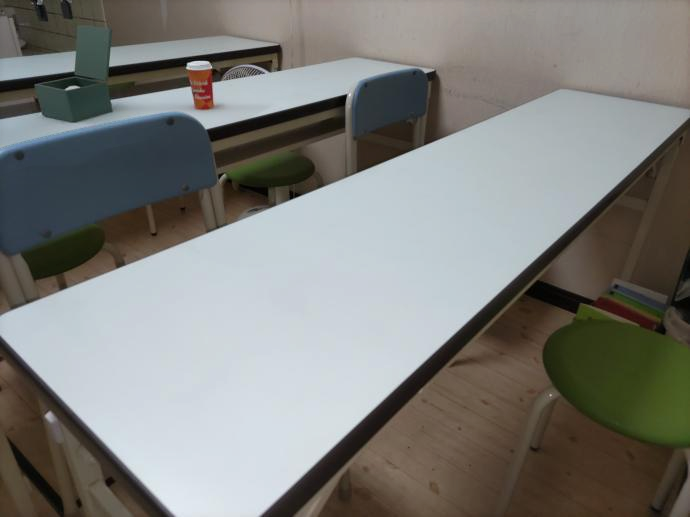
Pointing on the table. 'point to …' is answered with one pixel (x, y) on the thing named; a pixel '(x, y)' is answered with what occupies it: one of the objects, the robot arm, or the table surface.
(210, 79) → the paper cup
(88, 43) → the bin lid
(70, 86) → the white egg
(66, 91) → the bin
